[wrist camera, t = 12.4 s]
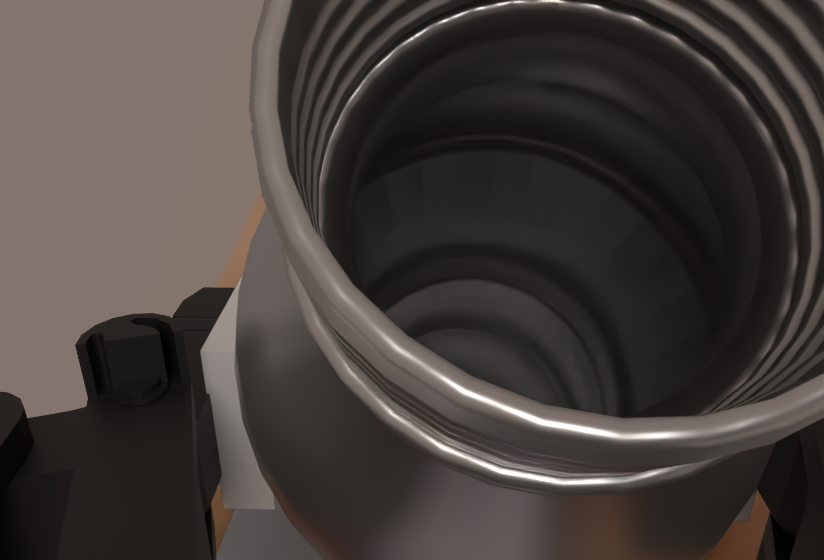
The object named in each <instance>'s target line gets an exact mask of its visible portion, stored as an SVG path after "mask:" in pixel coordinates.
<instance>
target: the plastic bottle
mask: <svg viewBox="0 0 824 560" xmlns="http://www.w3.org/2000/svg"><path fill="white" fill-rule="evenodd" d="M249 111H250V117H251V122H252V138H253V144H254V150H255V156H256V161H257V167H258V173H259V179H260V185H261V190H262V196H263V199H264V201H265V204H266V206H267V207H266V210H265V212H264V214H263V216H262V218H261V220H260V223H259V225H258V227H257V229H256V231H255V233H254V236H253V238H252V240H251V243H250V247H249V251H248V255H247V259H246V263H245V267H244V271H243V275H242V280H241V284H240V288H239V292H238V304H237V317H236V338H235V360H234V368H235V375H236V382H237V389H238V395H239V402H240V409H241V416H242V421H243V424H244V427H245V430H246V433H247V435H248V438H249V441H250V444H251V447H252V449H253V452H254V455H255V458H256V461H257V464H258V466H259V469H260V472H261V474H262V476H263V478H264V479H265V481H266V483H267V484H268V486H269V488H270V489H271V491H272V493H273V494H274V496H275V498H276V499H277V501H278V503H279V505H280V506H281V508H282V510H283V511H284V513H285V515H286V516H287V518H288V520H289V521H290V523H291V524H292V525H293V526H294V528H295V529H296V530H297V531H298V532H299V533H300V534H301V535H302V536H303V537H304V538H305V540H306V541H307V542H308V543H309V544H310V545H311V546H312V547H313V548H314V549H315V551H316V552H317V553H318V554H319V555H320V556H321V557H322V558H323V559H324V560H704V559H705V558H706V557H707V556H708V555H709V553H710V552H711V551H712V549H713V548H714V547H715V545H716V544H717V543H718V542H719V540H720V539H721V538H722V536H723V535H724V533H725V532H726V531H727V529H728V528H729V527H730V525H731V524H732V522H733V521H734V520H735V518H736V517H737V516H738V514H739V513H740V511H741V510H742V509H743V507H744V506H745V505H746V503H747V502H748V500H749V499H750V498H751V496H752V495H753V494H754V492H755V490H756V488H757V485H758V483H759V481H760V478H761V476H762V474H763V471H764V469H765V467H766V464H767V462H768V460H769V458H770V455H771V453H772V451H773V448H774V446H775V444H776V442H777V441H779V440H781V439H783V438H785V437H787V436H789V435H791V434H792V433H794V432H796V431H798V430H800V429H802V428H804V427H806V426H808V425H810V424H812V423H814V422H816V421H818V420H820V419H822V418H824V0H265V1H264V5H263V9H262V13H261V16H260V20H259V23H258V27H257V31H256V35H255V38H254V42H253V46H252V62H251V83H250V106H249Z"/></svg>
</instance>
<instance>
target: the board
mask: <svg viewBox="0 0 824 560" xmlns="http://www.w3.org/2000/svg"><path fill="white" fill-rule="evenodd" d="M216 560H324V559H323V558H322V557H321V556H320V555H319V554H318V553H317V552H316V551H315V549H314V548H313V547H312V546H311V545H310V544H309V543H308V542H307V541H306V540H305V538H304V537H303V536H302V535H301V534H300V533H299V532H298V531H297V530H296V529H295V528H294V526H293V525H292V524H291V523H290V521H289V520H288V518H287V516H286V515H285V513H284V511H283V510H282V508H281V506H280V505H279V503H278V501H277V504H276V507H275V510H273V509H235V510H234V512H233V515H232V517H231V520H230V522H229V524H228V527H227V529H226V532H225V534H224V537H223V539H222V542H221V544H220V547H219V549H218V551H217V554H216Z"/></svg>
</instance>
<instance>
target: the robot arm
mask: <svg viewBox="0 0 824 560" xmlns="http://www.w3.org/2000/svg"><path fill="white" fill-rule="evenodd" d="M241 280H242V277H241V279H240V280H239V282H238V284H237V286H236V288H207V287H204V288H202V289H201V290H199V291H198V292H196V293H194V294H193V295H191V296H190V297H188V298H187V299H185V300H184V301H183V302H182V303H181V305H180V306H179V308H178V309H177V311H176V312H175V314H174V315H173V318H171V317H169V316H165V315H159V314H154V313H147V314H131V315H126V316H121V317H116V318H112V319H110V320H108V321H105V322H102V323H100V324H98V325H95V326H94V327H92V328H91V329H89V330H88V331H86V332H85V333H84V334H82V335H81V337H80V338H79V340H78V341H77V343H76V345H75V346H76V350H77V354H78V359H79V362H80V367H81V371H82V375H83V379H84V383H85V387H86V392H87V396H88V401H87V406H86V407H84V408H80V409H76V410H72V411H67V412H61V413H56V414H50V415H44V416H38V417H33V418H27V416H26V413H25V409H24V407H23V404H22V402H21V399H20V398H18V397H16V396H14V395H12V394H10V393H7V392H0V560H216V545H215V527H214V520H213V514H212V508H211V502H212V499H213V496H214V494H215V491H216V489H217V486H218V484H219V481H220V486H221V492H222V499H223V505H224V508H231V509H273V510H275V507H276V504H277V499H276V498H275V496H274V494H273V493H272V491H271V489H270V488H269V486H268V484H267V483H266V481H265V479H264V478H263V476H262V474H261V472H260V469H259V466H258V464H257V461H256V458H255V455H254V452H253V449H252V447H251V444H250V441H249V438H248V435H247V433H246V430H245V427H244V424H243V421H242V416H241V409H240V402H239V395H238V389H237V382H236V375H235V368H234V360H235V338H236V317H237V304H238V292H239V288H240V284H241ZM757 489H758V491H759V493H760V494H761V496H762V498H763V500H764V501H765V503H766V505H767V507H768V508H769V510H770V514H769V517H768V521H767V524H766V527H765V531H764V534H763V538H762V541H761V544H760V548H759V551H758V555H757V558H756V560H824V418H822V419H820V420H818V421H816V422H814V423H812V424H810V425H808V426H806V427H804V428H802V429H800V430H798V431H796V432H794V433H792V434H791V435H789V436H787V437H785V438H783V439H781V440H779V441H777V442H776V444H775V446H774V448H773V451H772V453H771V455H770V458H769V460H768V462H767V464H766V467H765V469H764V471H763V474H762V476H761V478H760V481H759V483H758V485H757V488H756V490H755V492H754V494H753V495H752V496H751V498H750V499H749V500H748V502H747V503H746V505H745V506H744V507H743V509H742V510H741V511H740V513H739V514H738V516H737V517H736V518H735V520H734V521H748V520H749V516H750V513H751V509H752V505H753V502H754V498H755V495H756V491H757Z"/></svg>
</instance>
